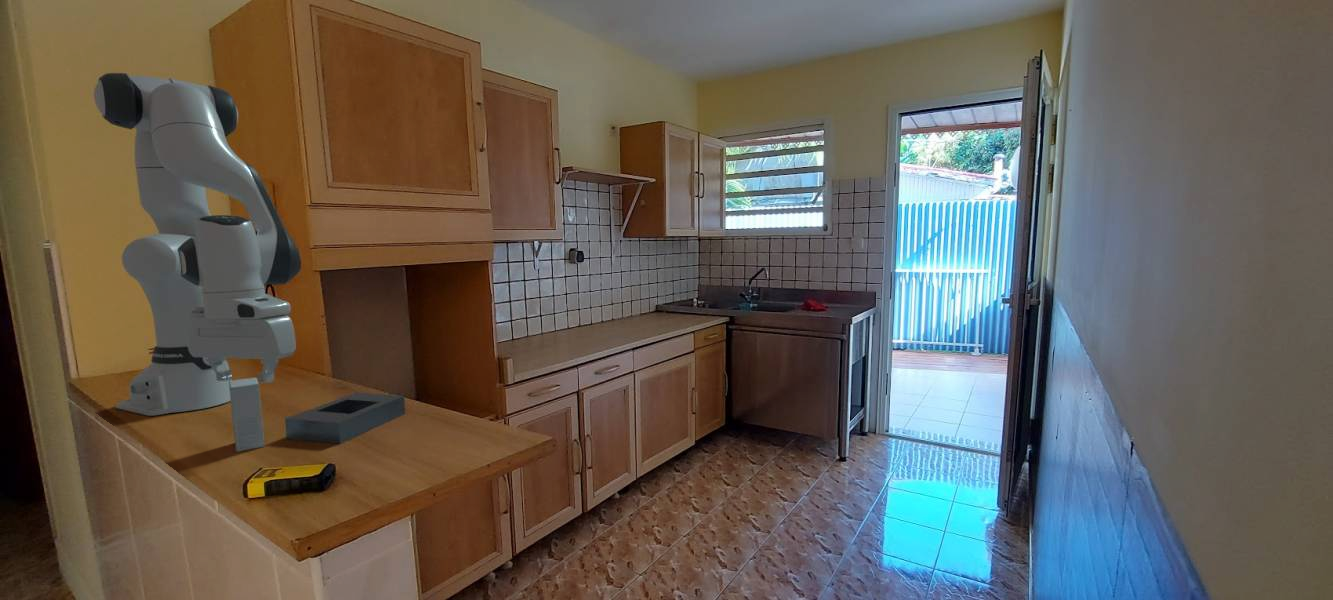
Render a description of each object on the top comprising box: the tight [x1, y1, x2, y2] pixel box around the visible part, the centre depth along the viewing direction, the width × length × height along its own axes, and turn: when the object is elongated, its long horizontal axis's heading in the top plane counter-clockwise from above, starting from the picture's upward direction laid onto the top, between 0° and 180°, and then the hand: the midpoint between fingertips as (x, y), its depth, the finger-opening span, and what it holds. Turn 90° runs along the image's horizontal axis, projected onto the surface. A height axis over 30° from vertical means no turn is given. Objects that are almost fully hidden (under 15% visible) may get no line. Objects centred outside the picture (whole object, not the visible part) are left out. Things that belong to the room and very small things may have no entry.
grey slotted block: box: [284, 392, 406, 445], centre depth 111 cm, size 12×18×4 cm, turn 168°
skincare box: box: [229, 377, 265, 453], centre depth 100 cm, size 6×4×12 cm
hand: (245, 381), depth 99 cm, fingers open, 8 cm apart
